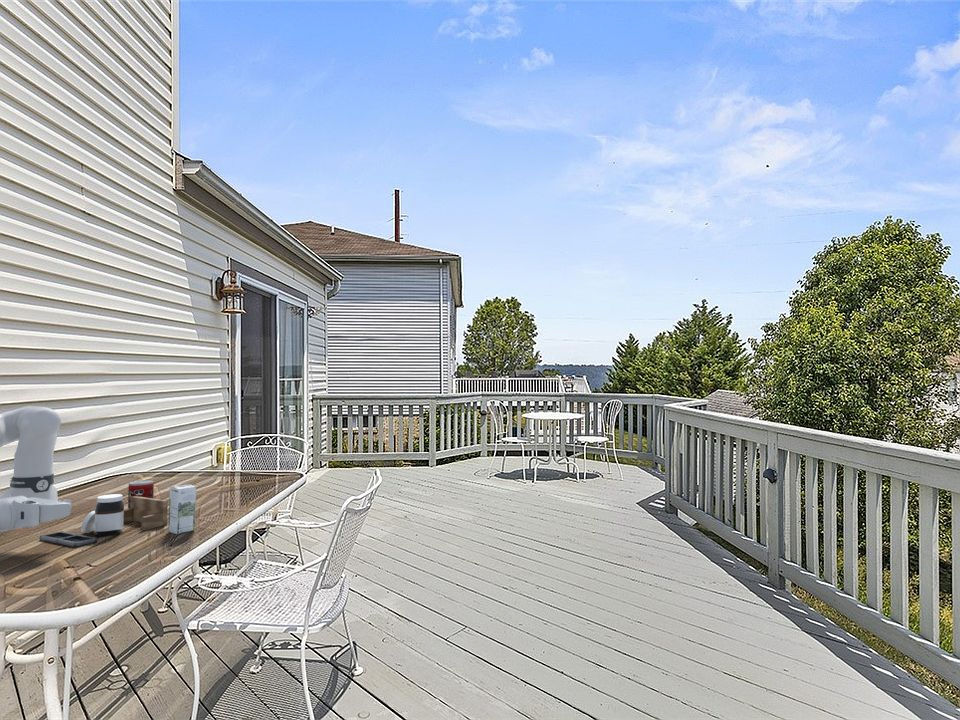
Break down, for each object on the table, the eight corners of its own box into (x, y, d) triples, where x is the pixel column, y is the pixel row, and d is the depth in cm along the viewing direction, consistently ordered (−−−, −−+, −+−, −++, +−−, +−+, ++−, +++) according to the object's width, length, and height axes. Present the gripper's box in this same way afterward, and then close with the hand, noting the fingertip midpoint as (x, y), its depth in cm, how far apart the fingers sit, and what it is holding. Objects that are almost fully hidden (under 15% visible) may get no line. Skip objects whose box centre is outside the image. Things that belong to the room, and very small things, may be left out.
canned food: (123, 512, 204) (124, 482, 205) (145, 508, 211) (145, 479, 212) (135, 515, 201) (136, 484, 201) (157, 510, 208) (158, 481, 208)
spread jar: (122, 535, 175) (123, 497, 175) (78, 540, 169) (79, 501, 170) (124, 526, 185) (125, 491, 186) (82, 531, 180) (84, 494, 180)
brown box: (111, 524, 188) (111, 500, 188) (134, 519, 195) (134, 496, 196) (144, 530, 181) (144, 505, 181) (166, 524, 188) (167, 500, 189)
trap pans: (39, 539, 169) (39, 535, 169) (61, 535, 175) (61, 531, 175) (75, 547, 162) (75, 543, 162) (97, 542, 167) (97, 538, 167)
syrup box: (185, 528, 183) (187, 483, 184) (195, 531, 180) (196, 485, 181) (167, 532, 179) (169, 486, 179) (177, 535, 175) (178, 488, 176)
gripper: (-5, 520, 160) (49, 509, 172) (35, 527, 151) (89, 516, 163) (-5, 497, 160) (49, 489, 172) (36, 504, 151) (89, 494, 164)
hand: (69, 502), depth 168 cm, fingers closed
